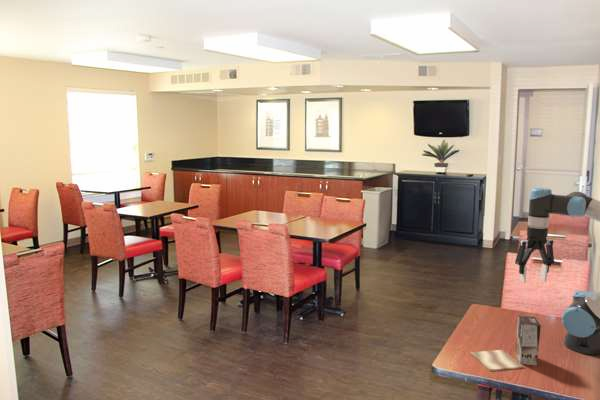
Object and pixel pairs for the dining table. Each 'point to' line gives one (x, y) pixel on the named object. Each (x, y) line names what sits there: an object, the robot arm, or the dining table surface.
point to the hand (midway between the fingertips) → (533, 280)
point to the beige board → (496, 360)
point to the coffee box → (527, 340)
